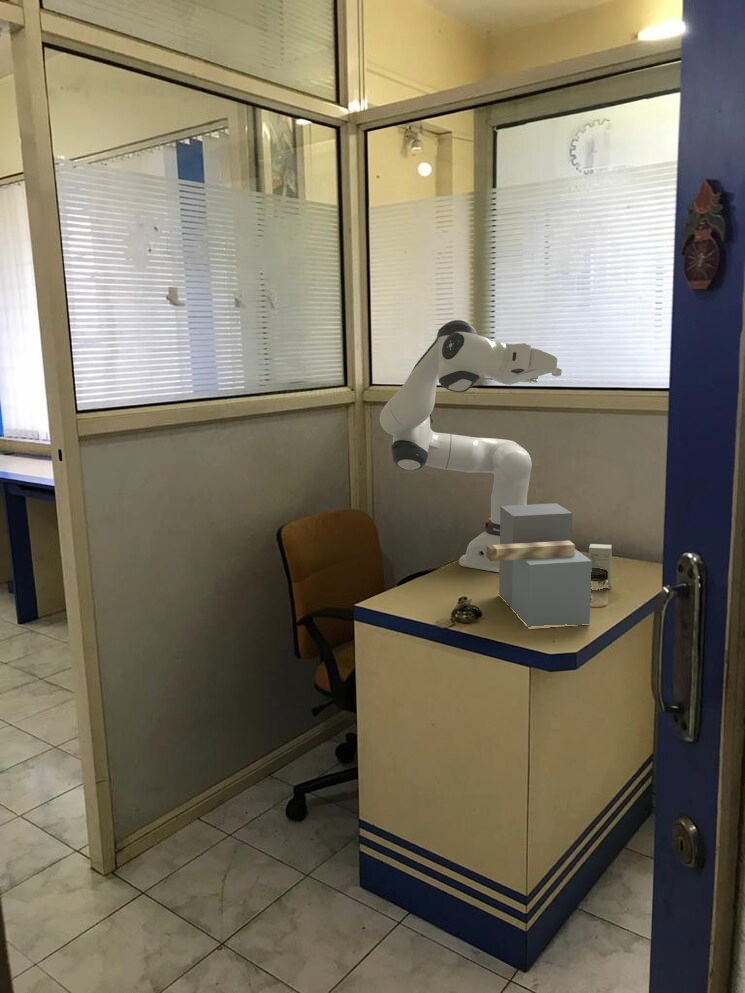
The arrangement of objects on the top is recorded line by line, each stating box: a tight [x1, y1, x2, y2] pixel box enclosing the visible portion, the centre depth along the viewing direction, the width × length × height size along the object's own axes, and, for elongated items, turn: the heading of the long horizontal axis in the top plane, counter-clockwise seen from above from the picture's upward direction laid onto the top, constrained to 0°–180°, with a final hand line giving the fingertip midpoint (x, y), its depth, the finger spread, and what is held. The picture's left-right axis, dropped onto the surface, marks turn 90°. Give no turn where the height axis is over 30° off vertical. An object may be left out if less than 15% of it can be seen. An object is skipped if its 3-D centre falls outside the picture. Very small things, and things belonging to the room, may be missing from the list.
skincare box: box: [588, 543, 613, 590], centre depth 236 cm, size 6×4×12 cm
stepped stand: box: [498, 502, 592, 627], centre depth 217 cm, size 16×26×26 cm, turn 8°
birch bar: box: [486, 541, 576, 561], centre depth 209 cm, size 22×4×3 cm, turn 98°
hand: (547, 376), depth 211 cm, fingers open, 8 cm apart
